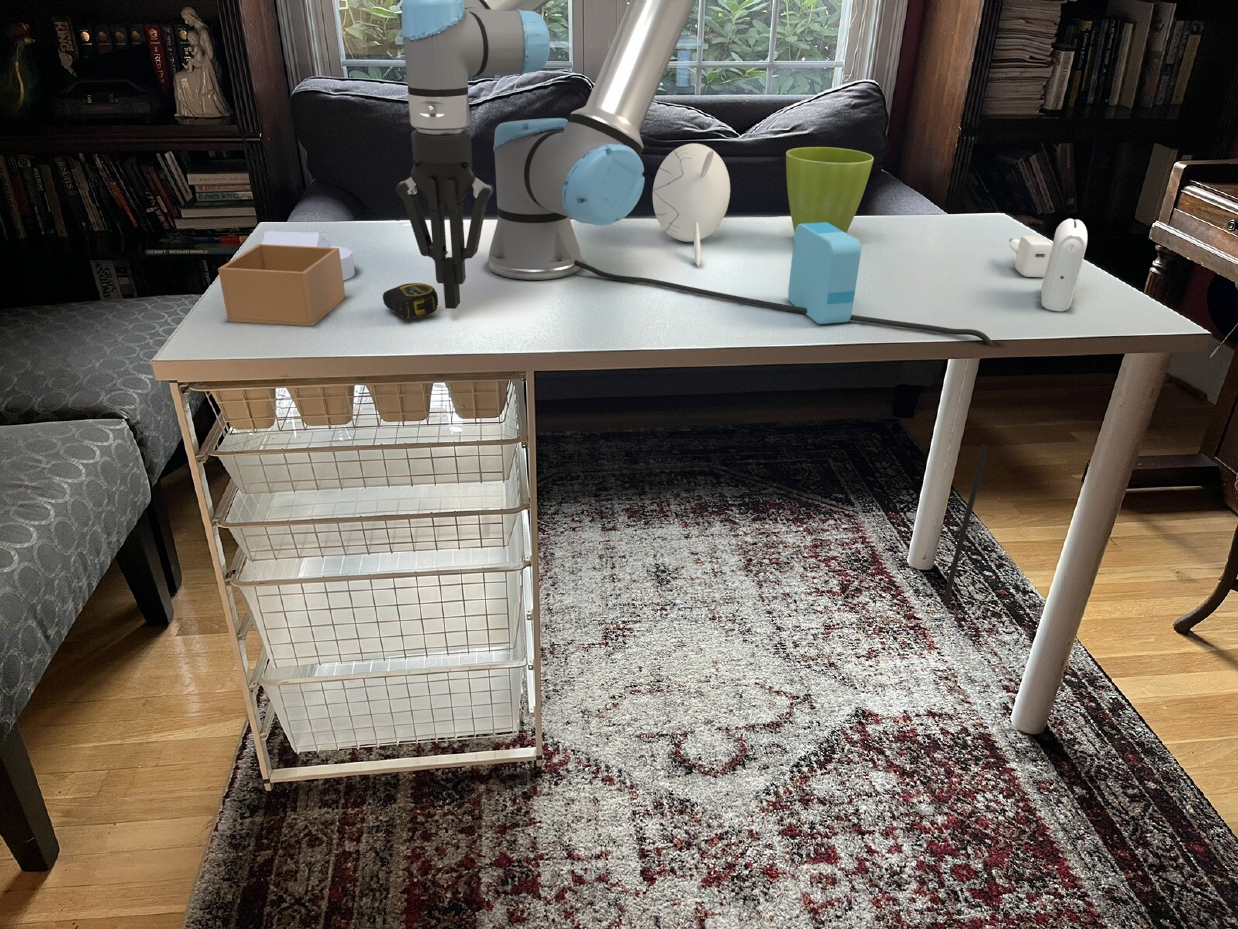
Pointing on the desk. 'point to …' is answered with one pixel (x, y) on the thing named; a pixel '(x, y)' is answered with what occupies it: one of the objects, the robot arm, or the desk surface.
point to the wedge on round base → (311, 241)
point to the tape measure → (411, 300)
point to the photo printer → (1064, 265)
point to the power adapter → (1031, 255)
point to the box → (282, 284)
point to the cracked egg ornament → (691, 194)
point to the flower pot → (826, 184)
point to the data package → (824, 272)
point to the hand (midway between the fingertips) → (452, 305)
